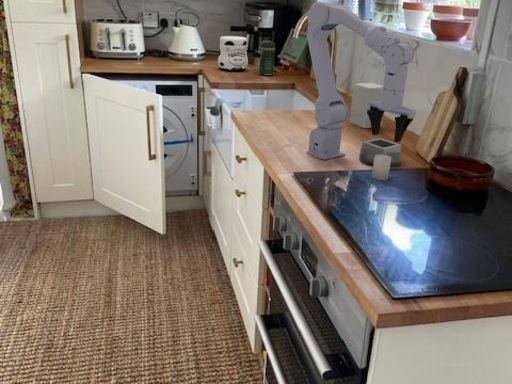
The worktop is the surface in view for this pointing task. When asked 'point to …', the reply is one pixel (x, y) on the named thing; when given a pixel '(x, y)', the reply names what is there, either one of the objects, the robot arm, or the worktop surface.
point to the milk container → (233, 53)
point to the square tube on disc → (380, 151)
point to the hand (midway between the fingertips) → (386, 138)
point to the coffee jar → (267, 57)
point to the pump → (381, 166)
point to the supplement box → (364, 103)
